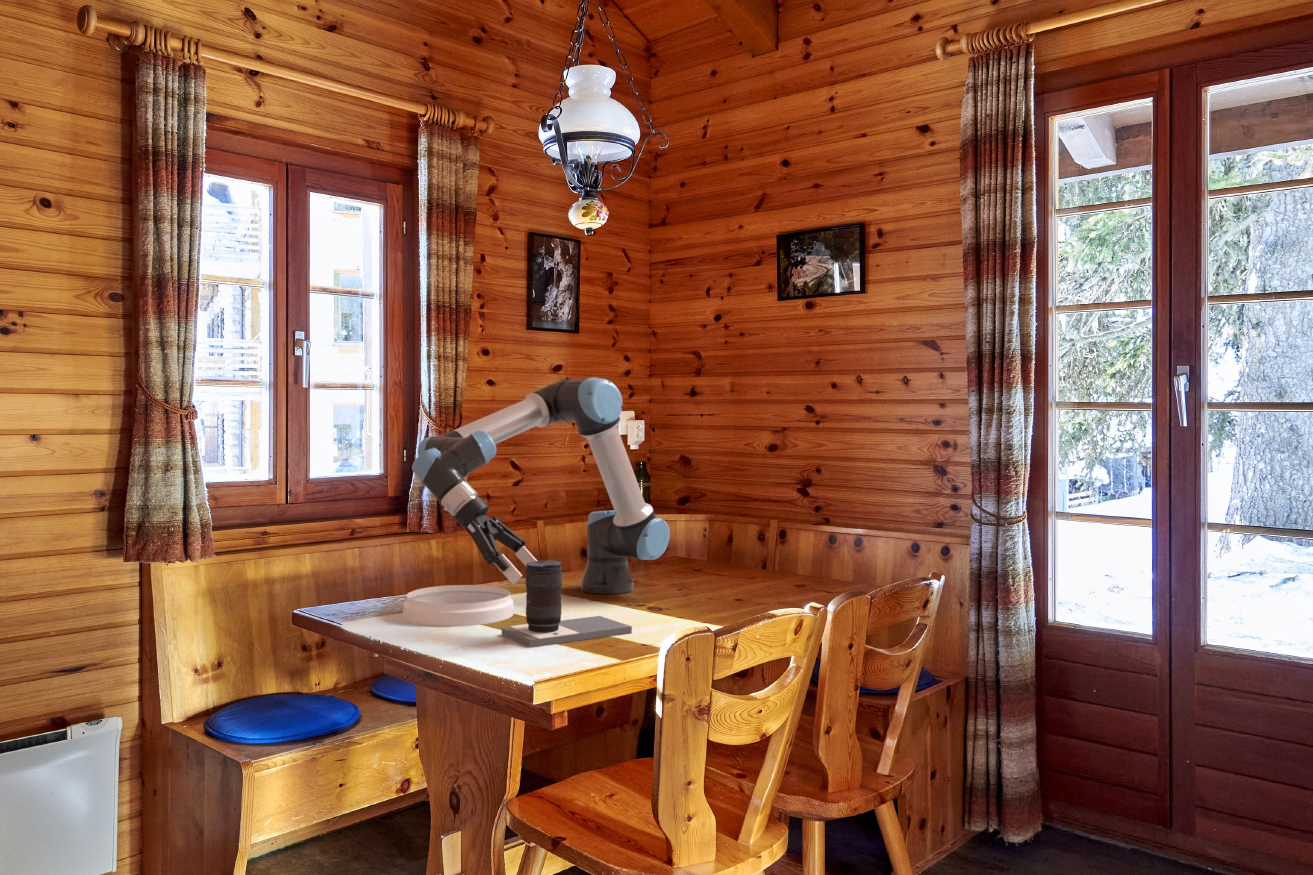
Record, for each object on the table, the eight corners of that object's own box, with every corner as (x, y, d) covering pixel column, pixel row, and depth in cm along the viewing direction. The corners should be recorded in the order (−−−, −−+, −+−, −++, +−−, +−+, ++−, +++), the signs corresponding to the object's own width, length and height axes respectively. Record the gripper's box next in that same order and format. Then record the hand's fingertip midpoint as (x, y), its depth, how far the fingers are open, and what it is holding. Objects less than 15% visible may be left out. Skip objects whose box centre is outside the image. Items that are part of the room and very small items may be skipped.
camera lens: (518, 628, 209) (519, 561, 209) (549, 624, 214) (550, 559, 213) (536, 635, 202) (537, 566, 202) (568, 630, 207) (569, 563, 207)
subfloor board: (599, 621, 225) (599, 614, 225) (631, 632, 214) (631, 624, 214) (501, 634, 210) (501, 626, 210) (530, 647, 199) (530, 638, 199)
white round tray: (479, 631, 215) (479, 607, 214) (380, 621, 223) (380, 598, 223) (532, 609, 240) (532, 588, 240) (441, 601, 249) (441, 581, 249)
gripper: (476, 512, 224) (534, 577, 221) (431, 523, 199) (496, 596, 197) (497, 491, 223) (556, 556, 220) (454, 499, 198) (520, 572, 196)
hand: (528, 575), depth 208 cm, fingers open, 13 cm apart
